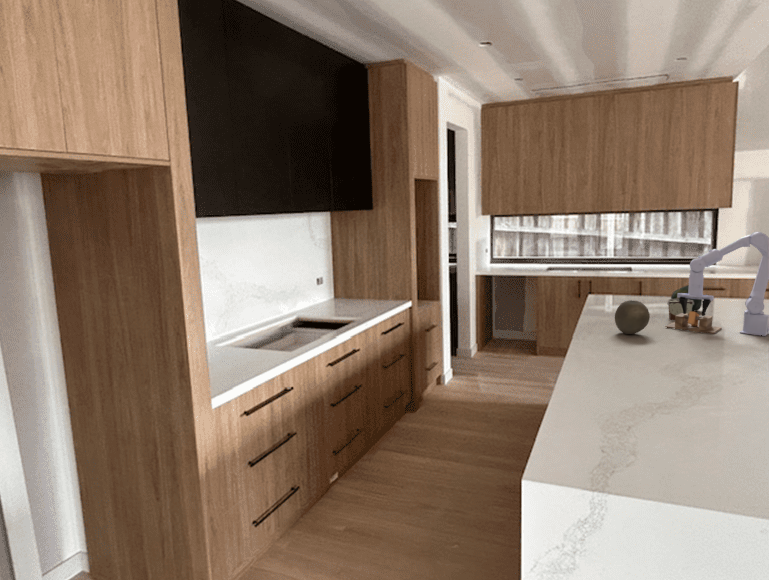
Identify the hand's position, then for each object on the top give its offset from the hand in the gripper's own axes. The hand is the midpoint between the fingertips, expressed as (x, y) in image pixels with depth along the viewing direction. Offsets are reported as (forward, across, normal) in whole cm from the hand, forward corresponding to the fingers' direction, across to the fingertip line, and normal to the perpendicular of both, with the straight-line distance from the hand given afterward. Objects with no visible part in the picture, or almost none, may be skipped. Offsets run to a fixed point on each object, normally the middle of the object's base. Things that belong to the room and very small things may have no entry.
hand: (694, 314), depth 254 cm
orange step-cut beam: (+4, 0, -1) cm, 5 cm away
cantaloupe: (+7, -17, -29) cm, 34 cm away
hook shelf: (+6, 0, 0) cm, 6 cm away
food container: (+7, -12, +18) cm, 23 cm away
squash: (+7, -16, +45) cm, 48 cm away
